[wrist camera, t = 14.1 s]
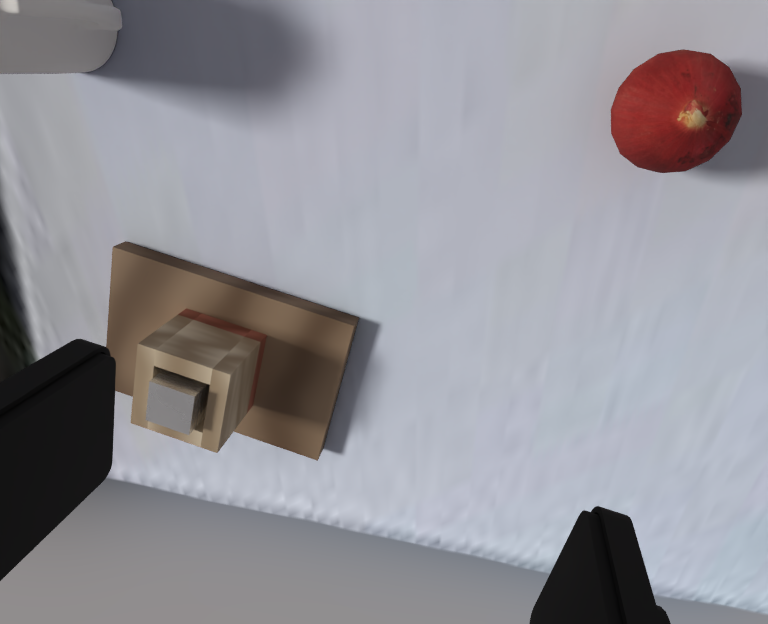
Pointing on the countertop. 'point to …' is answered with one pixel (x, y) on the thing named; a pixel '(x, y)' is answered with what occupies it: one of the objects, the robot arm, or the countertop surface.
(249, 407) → the sleeve
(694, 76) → the onion
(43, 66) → the mug
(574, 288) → the countertop surface
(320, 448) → the pin board
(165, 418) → the steel pin
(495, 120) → the countertop surface
